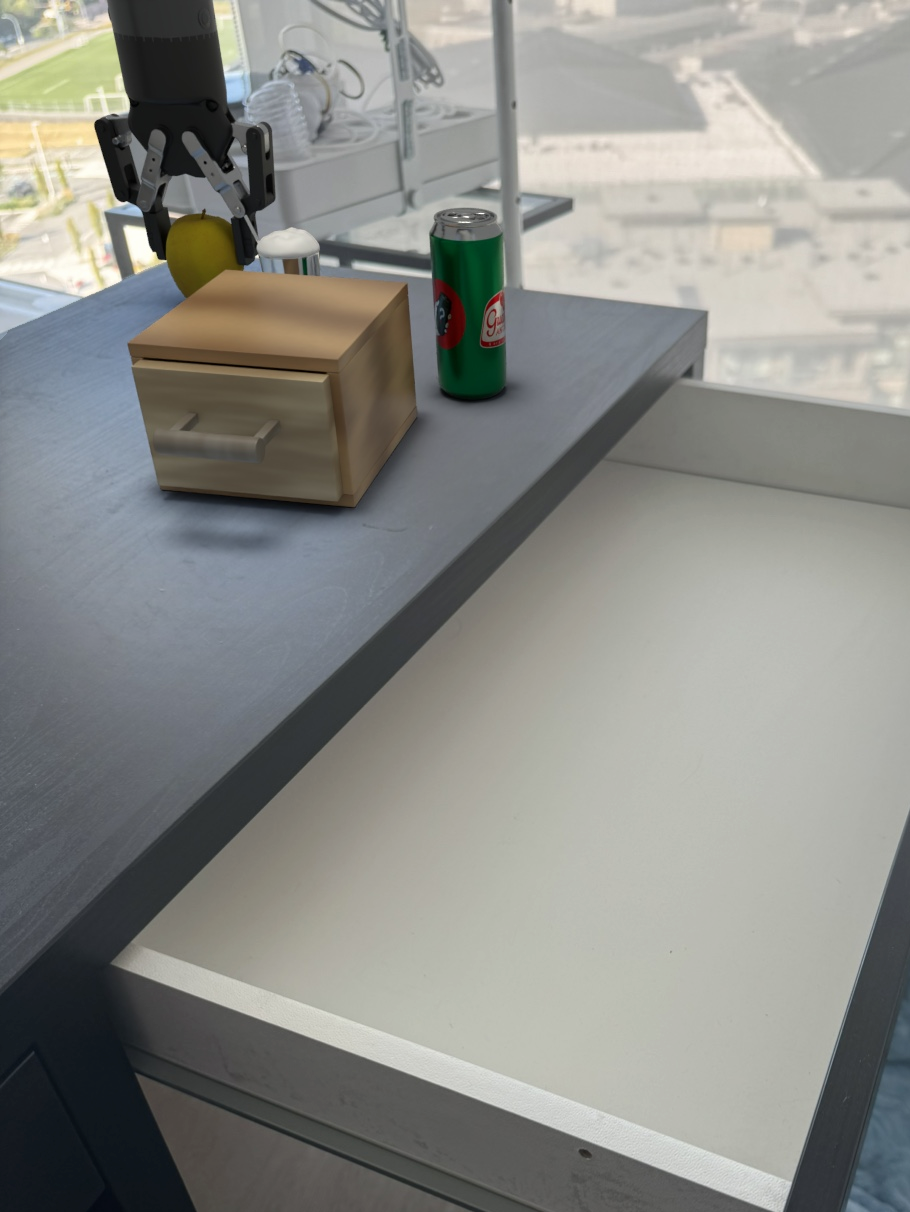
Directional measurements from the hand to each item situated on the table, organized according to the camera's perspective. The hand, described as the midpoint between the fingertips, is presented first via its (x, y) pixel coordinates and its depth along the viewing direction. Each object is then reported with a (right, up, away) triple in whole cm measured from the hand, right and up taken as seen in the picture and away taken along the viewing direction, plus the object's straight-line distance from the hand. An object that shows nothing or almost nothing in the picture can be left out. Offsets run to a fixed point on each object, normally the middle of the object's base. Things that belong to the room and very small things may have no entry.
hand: (206, 259), depth 98 cm
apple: (0, -3, +3) cm, 4 cm away
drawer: (+12, -24, -24) cm, 35 cm away
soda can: (+23, -15, -11) cm, 30 cm away
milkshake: (+9, -11, -6) cm, 15 cm away
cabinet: (+13, -22, -20) cm, 32 cm away
